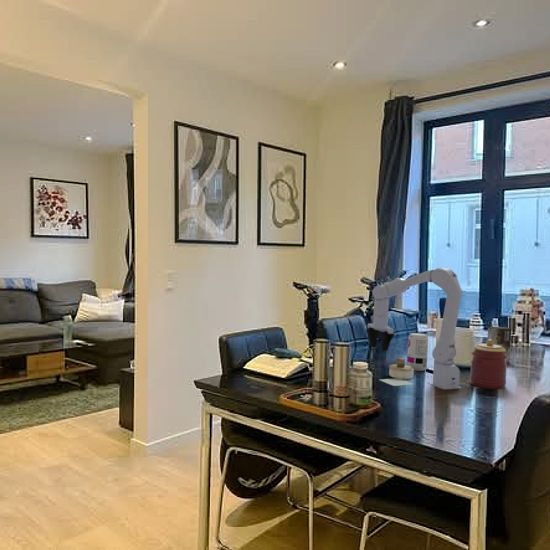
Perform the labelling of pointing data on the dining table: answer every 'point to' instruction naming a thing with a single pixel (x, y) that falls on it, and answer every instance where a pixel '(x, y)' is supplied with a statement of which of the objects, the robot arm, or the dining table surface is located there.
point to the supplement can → (417, 351)
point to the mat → (396, 382)
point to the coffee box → (501, 338)
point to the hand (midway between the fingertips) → (379, 348)
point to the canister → (488, 366)
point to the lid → (400, 366)
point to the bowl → (401, 374)
